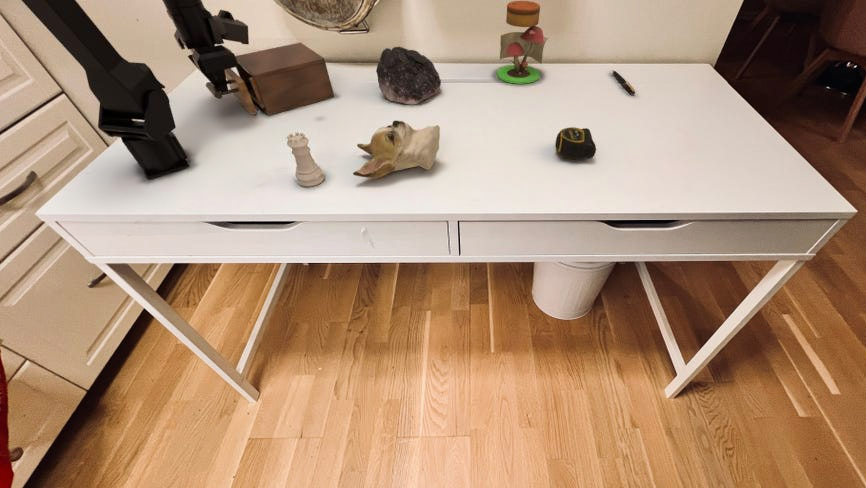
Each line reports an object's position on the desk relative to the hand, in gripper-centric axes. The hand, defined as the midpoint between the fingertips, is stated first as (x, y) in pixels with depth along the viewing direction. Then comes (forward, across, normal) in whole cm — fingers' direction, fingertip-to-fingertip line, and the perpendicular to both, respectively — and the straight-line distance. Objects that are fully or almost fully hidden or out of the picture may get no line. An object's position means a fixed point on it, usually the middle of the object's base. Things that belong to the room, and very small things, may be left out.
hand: (225, 94), depth 80 cm
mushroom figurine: (+4, -23, -62) cm, 66 cm away
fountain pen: (+4, -42, -78) cm, 88 cm away
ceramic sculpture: (+4, -40, -16) cm, 43 cm away
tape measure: (+4, -56, -45) cm, 72 cm away
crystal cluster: (+4, -15, -34) cm, 38 cm away
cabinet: (+4, 0, -12) cm, 13 cm away
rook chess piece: (+4, -34, -3) cm, 34 cm away
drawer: (+3, 0, -7) cm, 7 cm away
